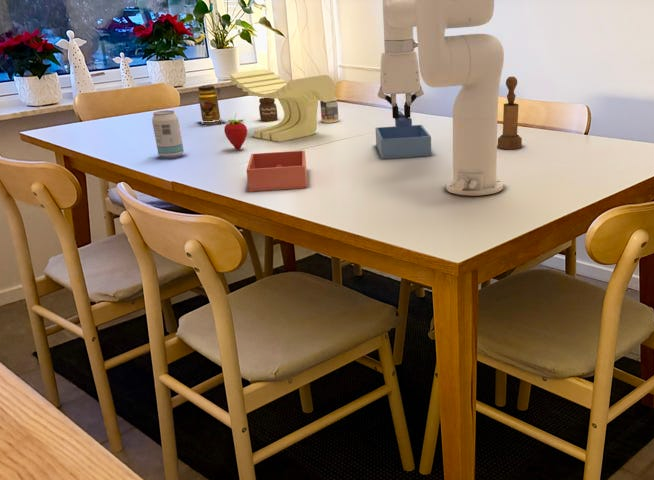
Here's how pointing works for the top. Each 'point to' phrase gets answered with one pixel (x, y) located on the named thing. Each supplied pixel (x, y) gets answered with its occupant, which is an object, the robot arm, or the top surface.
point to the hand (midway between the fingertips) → (401, 120)
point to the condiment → (209, 104)
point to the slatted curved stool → (288, 101)
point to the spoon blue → (403, 121)
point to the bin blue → (403, 141)
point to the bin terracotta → (277, 171)
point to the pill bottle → (329, 111)
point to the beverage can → (167, 134)
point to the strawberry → (236, 132)
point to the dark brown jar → (267, 109)
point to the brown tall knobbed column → (510, 119)
